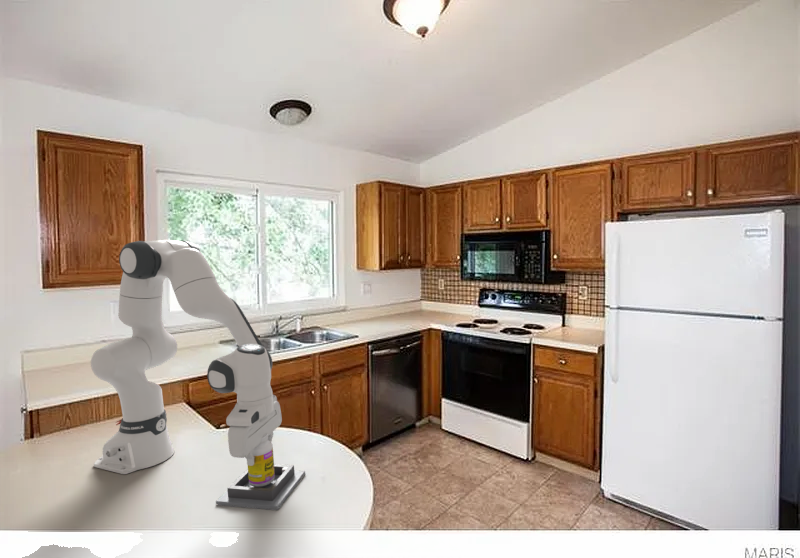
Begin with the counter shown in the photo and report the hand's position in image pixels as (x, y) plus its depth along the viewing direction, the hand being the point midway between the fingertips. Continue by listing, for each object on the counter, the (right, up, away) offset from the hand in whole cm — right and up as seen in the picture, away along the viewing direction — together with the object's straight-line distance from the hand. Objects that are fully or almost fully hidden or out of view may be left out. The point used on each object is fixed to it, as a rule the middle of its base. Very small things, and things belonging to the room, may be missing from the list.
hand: (259, 456), depth 111 cm
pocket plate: (+1, -9, +1) cm, 9 cm away
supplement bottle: (0, -7, +1) cm, 7 cm away
